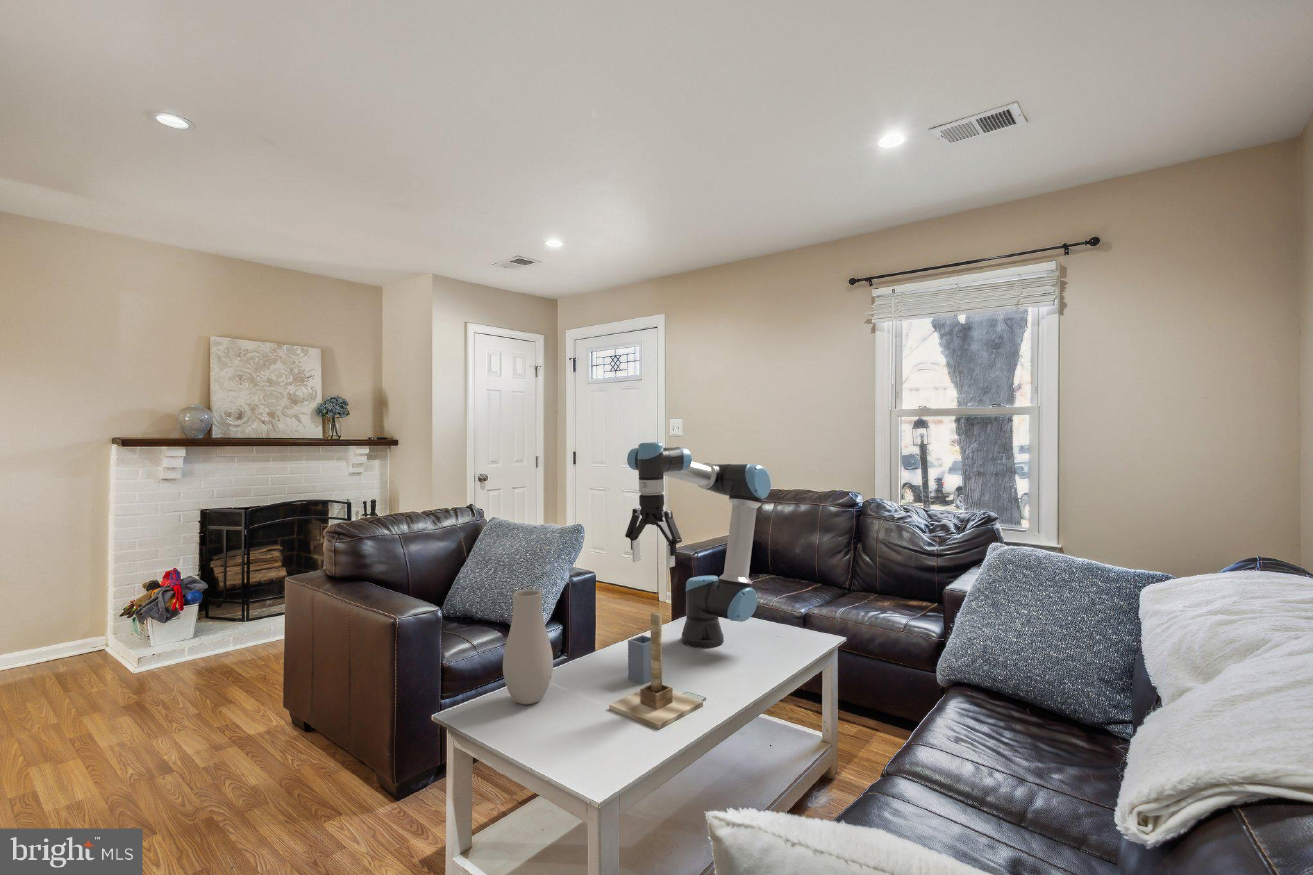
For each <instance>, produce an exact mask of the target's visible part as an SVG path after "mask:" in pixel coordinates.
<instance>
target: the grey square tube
mask: <svg viewBox="0 0 1313 875" xmlns="http://www.w3.org/2000/svg"><path fill="white" fill-rule="evenodd" d="M627 660H628V662H627V664H628V665H627V673H628V674H627V675H628V676H627V677H628V680H630V681H632V682H635V683H639V684H640V685H646V684H648V683H651V636H647V635H643V634H642V635H639V636H636V637H633V638H631V639H629V640H627Z"/></svg>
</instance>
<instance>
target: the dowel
mask: <svg viewBox="0 0 1313 875" xmlns="http://www.w3.org/2000/svg"><path fill="white" fill-rule="evenodd" d="M662 615H663V614H662V613H661V612H652V613H650V637H651V682H650V684H651V692H654V693H659V692H661V691H662V684H663V650H662V649H663V646H662V644H663V633H662V632H663V627H662V626H663V625H662V622H663V621H662V619H663V617H662Z"/></svg>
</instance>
